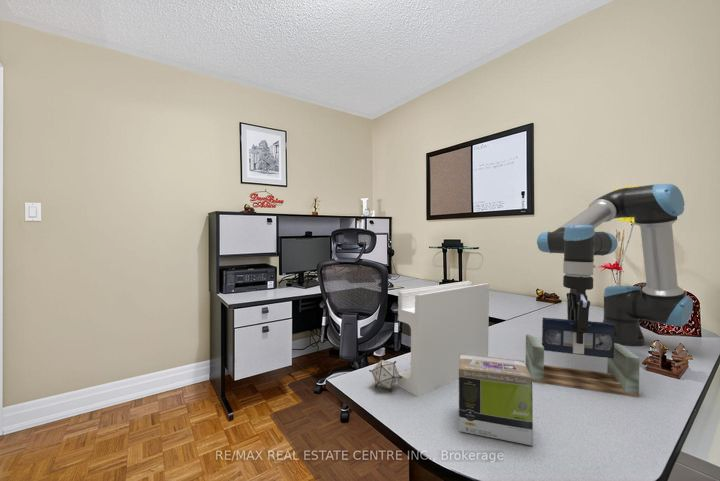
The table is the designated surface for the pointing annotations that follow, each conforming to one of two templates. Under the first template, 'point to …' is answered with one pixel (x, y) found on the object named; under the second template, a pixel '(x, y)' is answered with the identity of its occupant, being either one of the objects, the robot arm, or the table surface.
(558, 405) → the table surface
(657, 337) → the table surface
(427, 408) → the table surface
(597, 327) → the vhs cassette tape
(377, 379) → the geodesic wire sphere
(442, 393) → the table surface
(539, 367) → the cassette cradle
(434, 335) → the block
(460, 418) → the tea box
